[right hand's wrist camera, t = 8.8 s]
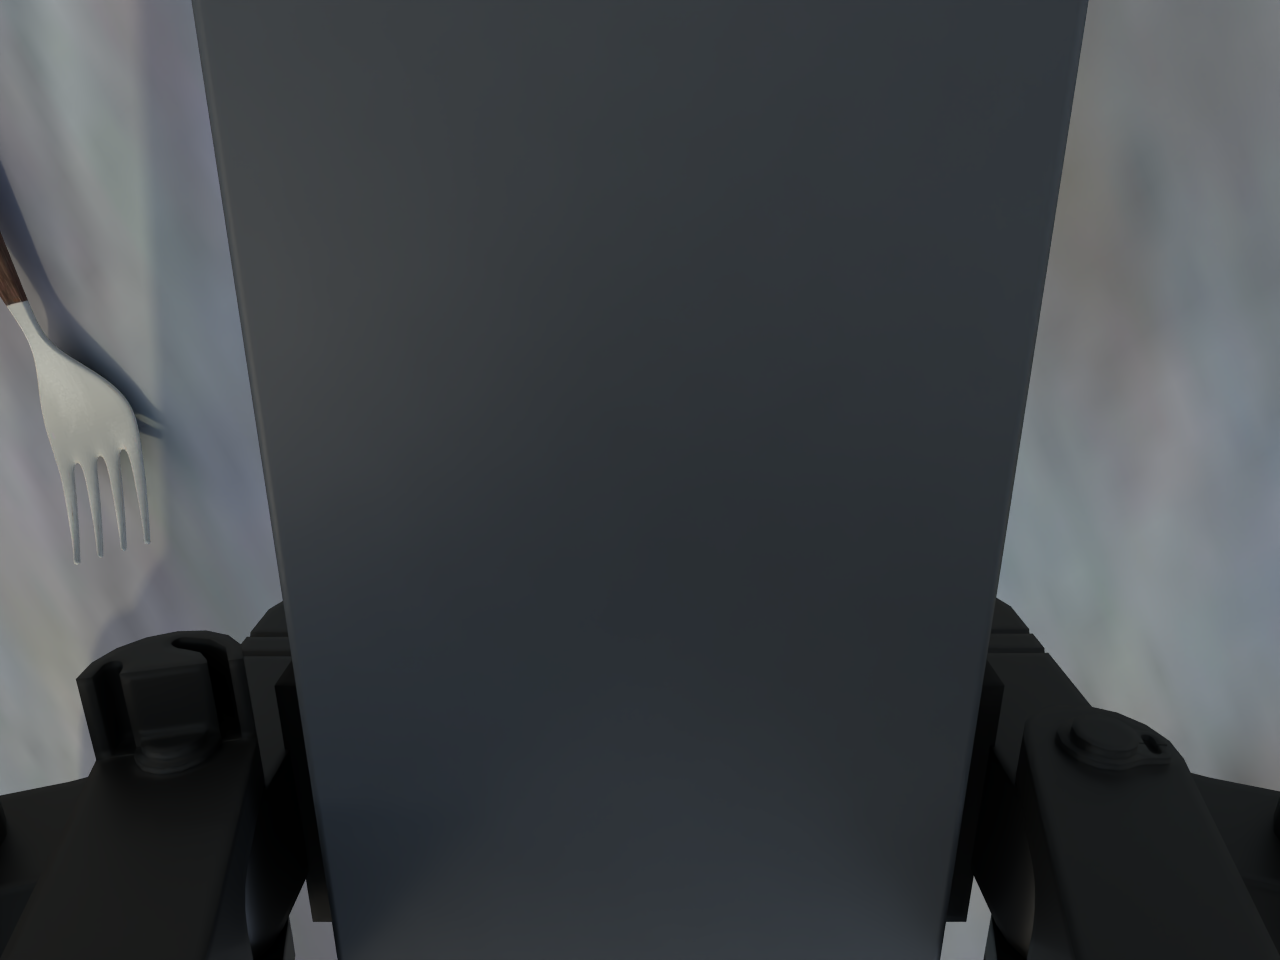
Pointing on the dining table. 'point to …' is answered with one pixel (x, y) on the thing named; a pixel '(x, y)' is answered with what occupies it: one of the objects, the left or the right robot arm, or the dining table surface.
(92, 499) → the fork
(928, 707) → the bar
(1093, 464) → the dining table surface
